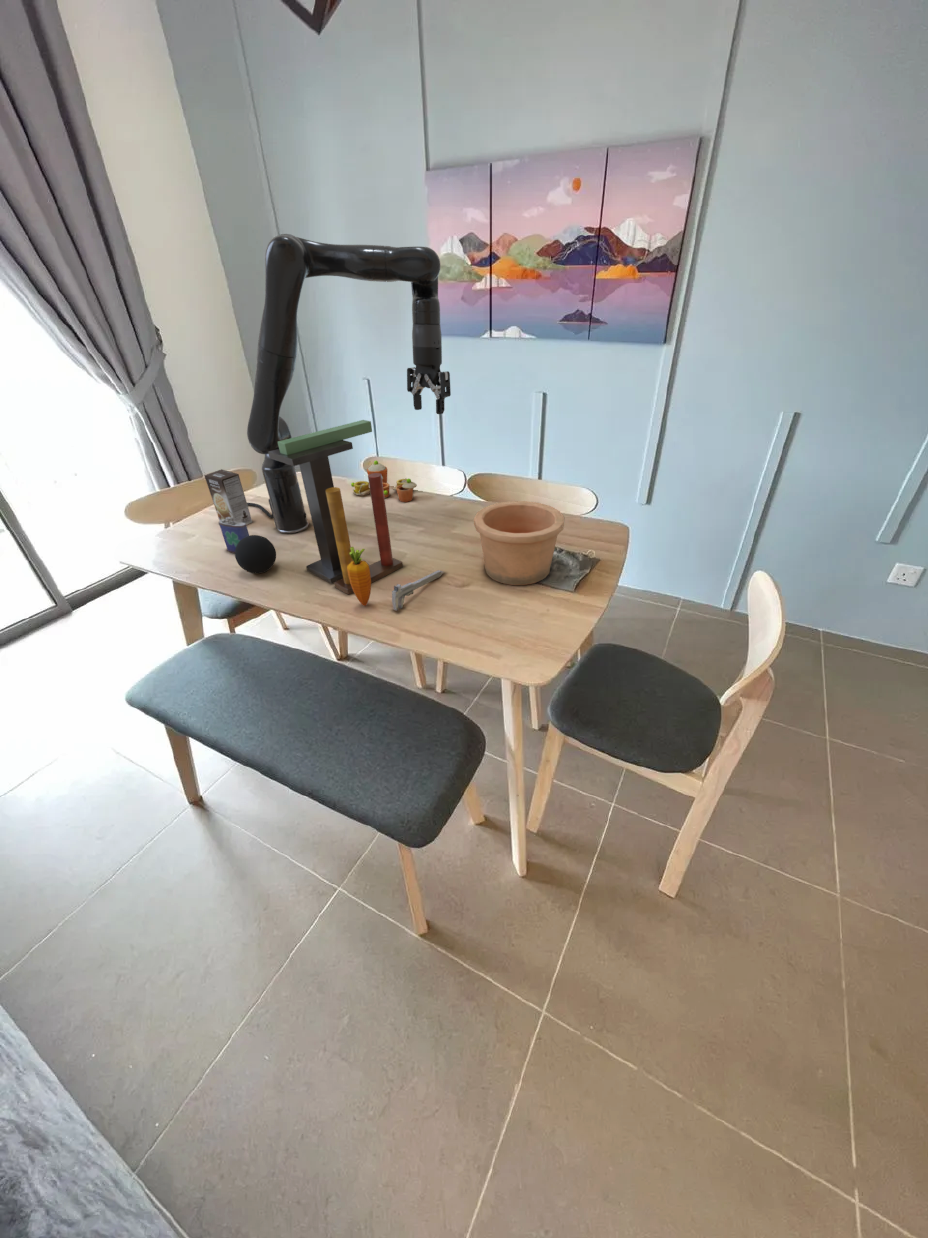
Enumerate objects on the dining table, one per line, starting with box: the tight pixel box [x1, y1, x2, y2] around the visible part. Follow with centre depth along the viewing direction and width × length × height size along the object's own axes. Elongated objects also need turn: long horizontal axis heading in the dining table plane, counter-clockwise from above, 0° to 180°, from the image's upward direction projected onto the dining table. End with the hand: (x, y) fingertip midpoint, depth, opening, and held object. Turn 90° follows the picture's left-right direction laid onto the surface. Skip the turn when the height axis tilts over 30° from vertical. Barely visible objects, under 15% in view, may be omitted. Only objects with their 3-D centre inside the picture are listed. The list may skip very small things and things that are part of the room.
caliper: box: [391, 569, 445, 612], centre depth 118 cm, size 20×1×6 cm, turn 150°
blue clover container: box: [218, 516, 250, 554], centre depth 139 cm, size 9×3×11 cm, turn 68°
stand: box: [268, 439, 354, 585], centre depth 122 cm, size 16×11×32 cm
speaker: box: [234, 534, 277, 574], centre depth 129 cm, size 10×10×10 cm
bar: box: [278, 419, 373, 455], centre depth 115 cm, size 24×3×2 cm, turn 138°
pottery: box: [473, 500, 565, 586], centre depth 123 cm, size 22×22×14 cm
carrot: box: [347, 546, 372, 607], centre depth 112 cm, size 5×5×15 cm
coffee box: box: [204, 468, 253, 526], centre depth 155 cm, size 9×6×16 cm
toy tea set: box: [350, 460, 418, 503], centre depth 174 cm, size 26×16×10 cm, turn 63°
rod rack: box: [326, 473, 404, 595], centre depth 120 cm, size 18×6×25 cm, turn 138°
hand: (428, 411), depth 135 cm, fingers open, 8 cm apart
